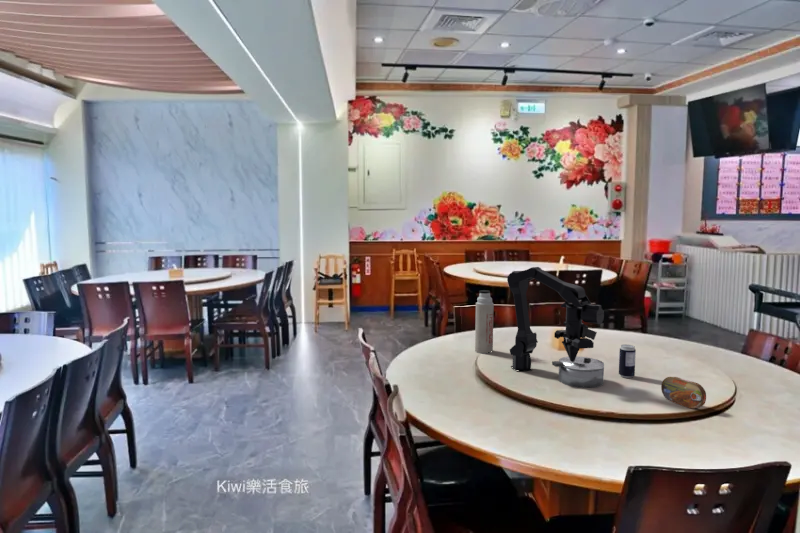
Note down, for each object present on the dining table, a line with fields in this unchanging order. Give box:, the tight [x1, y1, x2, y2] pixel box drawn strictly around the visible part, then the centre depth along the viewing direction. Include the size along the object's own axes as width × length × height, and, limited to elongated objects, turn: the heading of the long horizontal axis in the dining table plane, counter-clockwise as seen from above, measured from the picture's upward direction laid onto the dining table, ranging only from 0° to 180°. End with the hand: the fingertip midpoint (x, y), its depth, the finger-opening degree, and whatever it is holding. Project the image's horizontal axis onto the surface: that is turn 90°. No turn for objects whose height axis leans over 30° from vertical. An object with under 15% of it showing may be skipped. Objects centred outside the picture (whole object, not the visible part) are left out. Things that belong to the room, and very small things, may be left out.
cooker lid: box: [551, 355, 605, 371], centre depth 202 cm, size 19×16×2 cm
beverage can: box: [618, 344, 637, 379], centre depth 209 cm, size 6×6×12 cm
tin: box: [660, 376, 707, 410], centre depth 179 cm, size 15×3×8 cm, turn 25°
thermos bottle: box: [474, 289, 494, 354], centre depth 246 cm, size 8×8×28 cm
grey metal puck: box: [558, 366, 605, 389], centre depth 203 cm, size 16×16×6 cm
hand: (572, 361), depth 202 cm, fingers closed
